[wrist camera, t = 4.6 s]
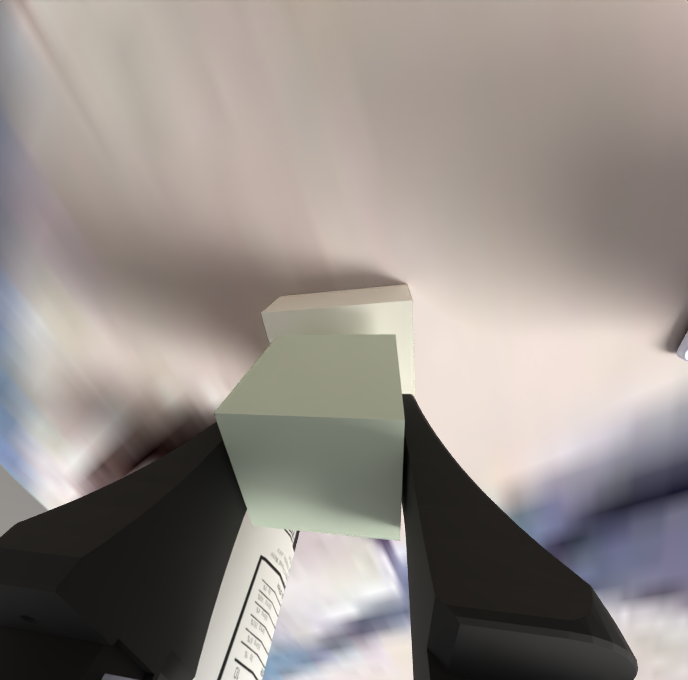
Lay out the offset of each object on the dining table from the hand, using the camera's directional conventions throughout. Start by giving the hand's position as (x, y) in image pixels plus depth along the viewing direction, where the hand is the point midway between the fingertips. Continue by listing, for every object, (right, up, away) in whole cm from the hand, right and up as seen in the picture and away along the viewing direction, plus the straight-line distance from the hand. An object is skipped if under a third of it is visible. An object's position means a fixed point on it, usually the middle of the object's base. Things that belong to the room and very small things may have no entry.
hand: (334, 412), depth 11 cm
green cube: (0, +1, +1) cm, 2 cm away
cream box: (+1, +3, +5) cm, 6 cm away
